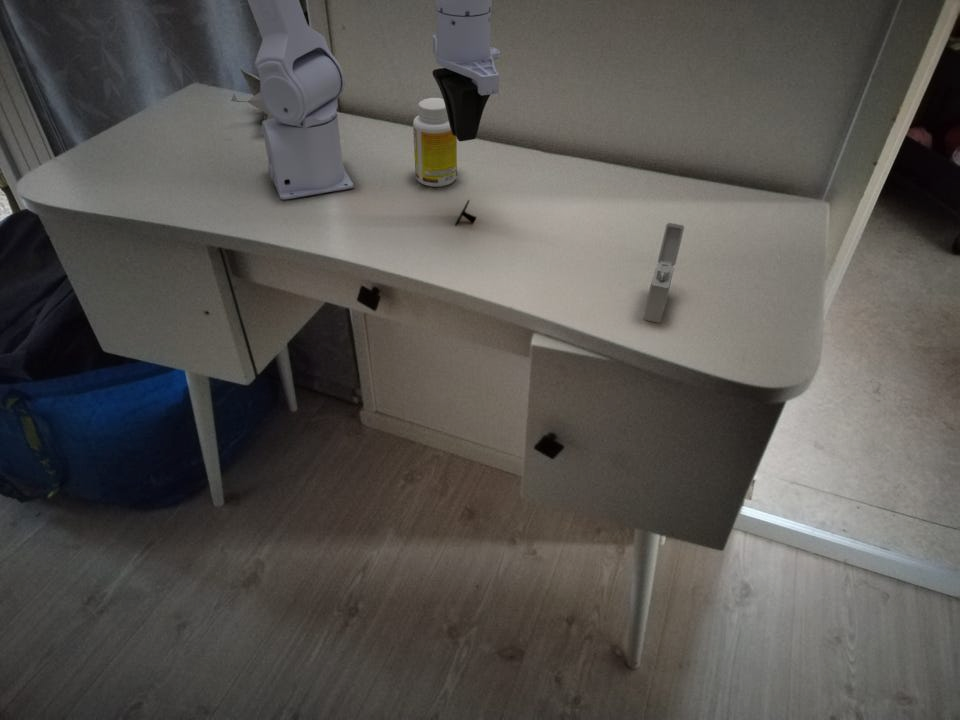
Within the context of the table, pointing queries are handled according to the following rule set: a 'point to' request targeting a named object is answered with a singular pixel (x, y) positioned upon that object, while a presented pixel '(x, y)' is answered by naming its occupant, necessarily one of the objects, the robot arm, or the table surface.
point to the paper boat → (255, 95)
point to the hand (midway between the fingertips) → (463, 136)
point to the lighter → (663, 273)
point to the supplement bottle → (434, 144)
